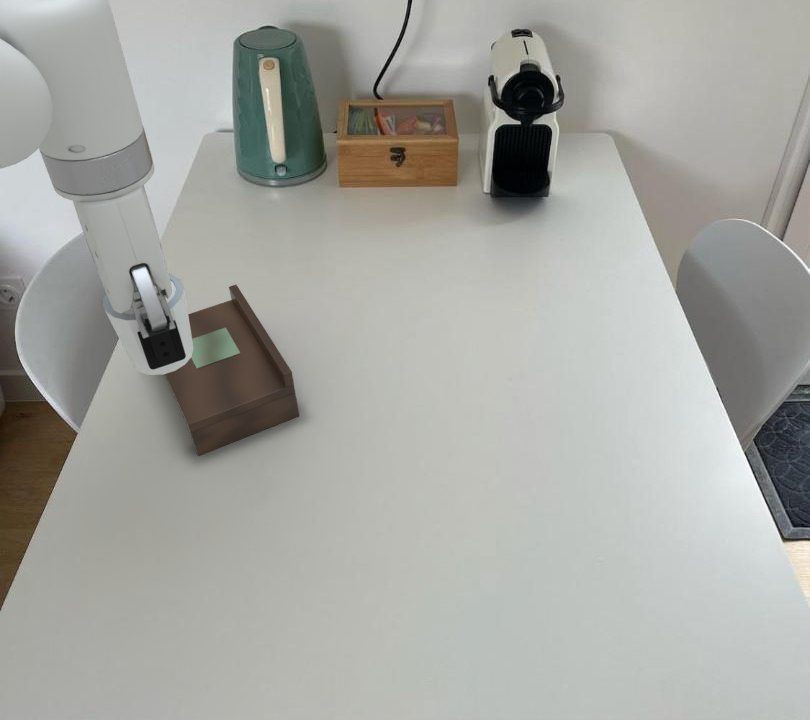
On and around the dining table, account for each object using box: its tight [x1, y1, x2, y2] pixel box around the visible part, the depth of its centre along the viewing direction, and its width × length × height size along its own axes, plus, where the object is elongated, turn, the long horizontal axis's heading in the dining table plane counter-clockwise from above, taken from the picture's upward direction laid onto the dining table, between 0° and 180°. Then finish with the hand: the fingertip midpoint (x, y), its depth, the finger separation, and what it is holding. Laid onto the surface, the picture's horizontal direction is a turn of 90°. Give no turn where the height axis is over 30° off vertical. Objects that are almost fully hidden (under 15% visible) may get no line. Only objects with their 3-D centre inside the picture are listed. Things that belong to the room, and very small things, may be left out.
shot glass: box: [102, 272, 194, 376], centre depth 72 cm, size 7×7×7 cm
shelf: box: [163, 284, 300, 456], centre depth 94 cm, size 12×18×7 cm, turn 28°
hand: (156, 336), depth 73 cm, fingers closed on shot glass, 6 cm apart
